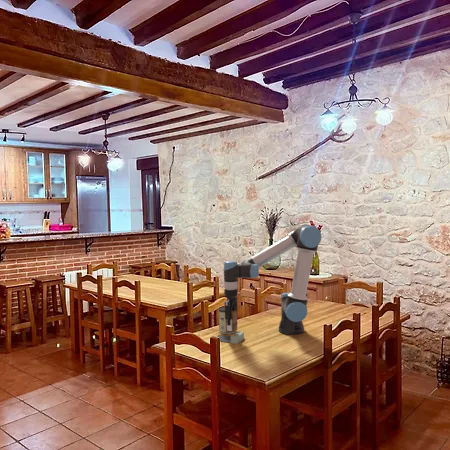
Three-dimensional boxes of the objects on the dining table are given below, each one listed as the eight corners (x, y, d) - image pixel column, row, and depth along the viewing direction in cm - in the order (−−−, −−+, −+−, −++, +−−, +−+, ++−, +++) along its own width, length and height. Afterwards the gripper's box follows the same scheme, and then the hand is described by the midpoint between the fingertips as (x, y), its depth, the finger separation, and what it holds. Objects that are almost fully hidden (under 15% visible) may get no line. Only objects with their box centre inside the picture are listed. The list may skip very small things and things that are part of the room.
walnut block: (237, 329, 246) (237, 310, 246) (233, 332, 242) (233, 312, 241) (229, 328, 248) (228, 309, 248) (225, 331, 244) (225, 312, 243)
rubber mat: (236, 337, 250) (236, 336, 250) (229, 342, 240) (229, 342, 240) (219, 335, 254) (219, 334, 254) (211, 340, 245) (211, 340, 245)
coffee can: (237, 329, 265) (236, 306, 264) (234, 334, 255) (233, 310, 254) (220, 328, 267) (220, 306, 266) (217, 333, 257) (216, 310, 256)
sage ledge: (243, 338, 248) (243, 332, 248) (237, 343, 239) (237, 337, 238) (237, 337, 249) (237, 331, 249) (230, 342, 240) (230, 336, 240)
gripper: (230, 285, 253) (231, 324, 255) (218, 291, 237) (218, 333, 238) (242, 285, 250) (243, 325, 252) (230, 292, 234) (231, 334, 235)
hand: (231, 329), depth 245 cm, fingers closed on walnut block, 5 cm apart
